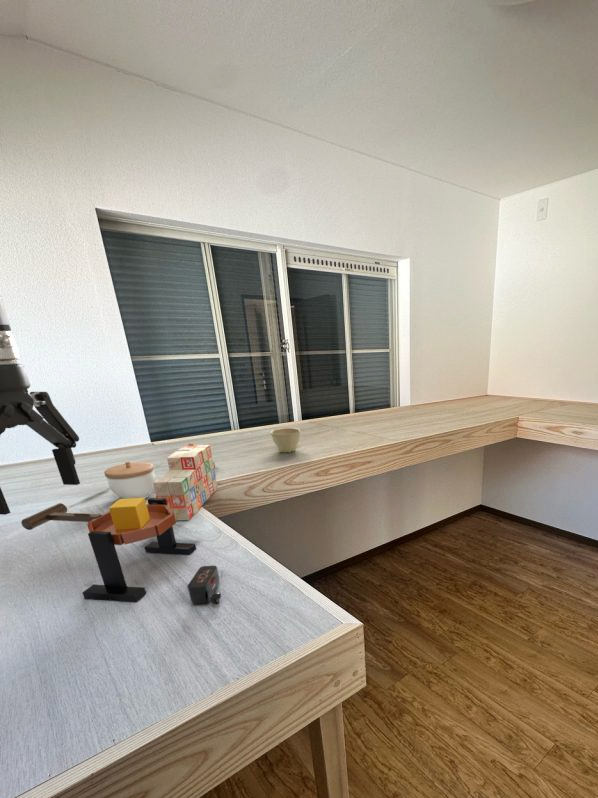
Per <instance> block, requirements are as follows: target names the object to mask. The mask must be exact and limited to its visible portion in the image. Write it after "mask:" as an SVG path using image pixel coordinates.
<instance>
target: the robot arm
mask: <svg viewBox="0 0 598 798" xmlns="http://www.w3.org/2000/svg"><path fill="white" fill-rule="evenodd" d="M21 358H22V357H21V355H20V352H19V348H18V345H17V342H16V339H15V336H14V333H13V331H12V328H11V324H10V321H9V318H8V315H7V312H6V309H5V307H4V303H3V300H2V296H1V295H0V436H1V435H2V434H3V433H5V431H6V429H12V428H13V429H14V428H15V427H18V426H27V427H29V429H31V430H32V431H34V432H35V433H36V434H38V435H39V436H41V437H42V438H43V439H44V440H45V441H47V442H49V443H50V444H51V445H53V446H54V447H55V448H53V449H51V451H52V455H53V458H54V461H55V463H56V464H55V465H56V467H57V469H58V472H59V475H60V479H61V481H62V485H64V486H78V485H80V484H81V481H80V478H79V474H78V472H77V469H76V466H75V465H76V458H75V456H74V453H73V449H74V448H76V447H77V443H78V442H79V441H80V437H79V435H78V434H77V432H76V431H75V430H74V428H73V427H72V426H71V425H70V424H69V423H68V421H67V420H66V419H65V418H64V416H63V415H62V413H61V412H60V411H59V410H58V409H57V407H56V406H55V405H54V404H53V401H52V398H51V396H50V393H48V392H47V391H30V392H29V389H30V388H31V383H30V380H29V377H28V374H27V371H26V368H25V365H23V364H22V363H18V361H19V360H20V359H21ZM33 408H34V409H36V410H34V409H33ZM9 514H11V510H10V508H9V505H8V503H7V500H6V498H5V495H4V493H3V490H2V488H1V487H0V515H4V516H5V515H9Z"/></svg>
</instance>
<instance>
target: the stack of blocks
mask: <svg viewBox="0 0 598 798" xmlns="http://www.w3.org/2000/svg"><path fill="white" fill-rule="evenodd" d="M166 460H167V465H168V471H166V472H165V473H164V474H162V475H161V476H160V477H158V478H157V479H155V481H154V482H153V486H154V489H153V491H154V493H155V498H166V502H167V505H168V506H169V508H170V509H171V510H172V511H173V512H174V514H175V519H176V521H189V520H191V518H192V517H193V516H194V515H195V514H196V513H197V512H198V511H199V510H200V508H202V506H203V505H204V504H205V503H206V502H207V501H208V500H209V498H211V496H213V495H214V494H215V493H216V491H218V482H217V478H216V472H215V469H214V464H213V462H214V459H213V455H212V449H211V445H210V444H198V445H197V444H193V445H191V446H187V445H185V446H183V447H180V448H179V449H177V450H176V451H175V452H173V453H172V454H170V455H168V456H167V457H166Z"/></svg>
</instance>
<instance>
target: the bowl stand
mask: <svg viewBox="0 0 598 798" xmlns="http://www.w3.org/2000/svg"><path fill="white" fill-rule="evenodd" d="M146 499H147V498H146ZM146 502H147V504H152V503H153V502H156V503H158V504H159V505H166V506H167V502H166V498H156V497H148V499H147V501H146ZM87 536H88V539H89V542H90V545H91V548H92V551H93V554H94V557H95V560H96V564H97V567H98V569H99V572H100V575H101V579H102V581H103V584H97V583H95V584H92V585H91V586H89V587H87V588H86V589H85V590H83V591H82V592H81V593H82V596H83V599H85V600H98V601H115V602H129V603H138V602H139V601H140V600H141V599H142V598H143V597H144V596H145V595H147V591H146V588H145V587H144V586H143V587H141V586H128V585H127V582H126V579H125V575H124V571H123V568H122V565H121V562H120V559H119V556H118V551H117V549H116V545H114V542H113V538H112V535H111V532H103V531H92V532H90V533H89V532H88V533H87ZM155 538H156V540H157V541H151V542H149V543H148V544H146V545H145V546H144V551H145V553H150V554H168V555H169V554H170V555H171V554H172V555H187V556H189V555H191V554H192V553H193V552H195V551H196V550H197V545H196V543H191V542H189V543H188V542H177V541H176V536H175V532H174V527H173V526H172V527H170V528H169V529H167V530H166V531H165V532H163V533H162V534H161V535H157V536H156V537H155Z"/></svg>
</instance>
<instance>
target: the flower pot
mask: <svg viewBox="0 0 598 798" xmlns="http://www.w3.org/2000/svg"><path fill="white" fill-rule="evenodd" d="M300 434H301V429H299V428H295V427H284V428H279V429H277V428H276V429H274V430H271V431H270V435H271V438H272V442H273V443H274V445H275V446H276V448H277V449H278V451H279V452H280V451H281V452H280V453H283V452H289V453H292V452H291V451H293V452H295V451H296V449H297V447H298V444H299V440H300ZM294 450H295V451H294Z"/></svg>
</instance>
